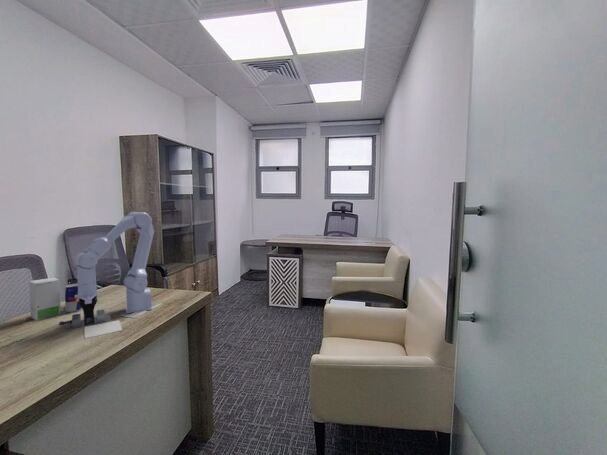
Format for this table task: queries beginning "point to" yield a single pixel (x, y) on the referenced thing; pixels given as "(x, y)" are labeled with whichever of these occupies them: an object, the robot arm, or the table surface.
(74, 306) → the energy drink
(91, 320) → the steel pin
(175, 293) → the table surface
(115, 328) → the coaster
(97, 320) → the vise
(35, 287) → the skincare box
